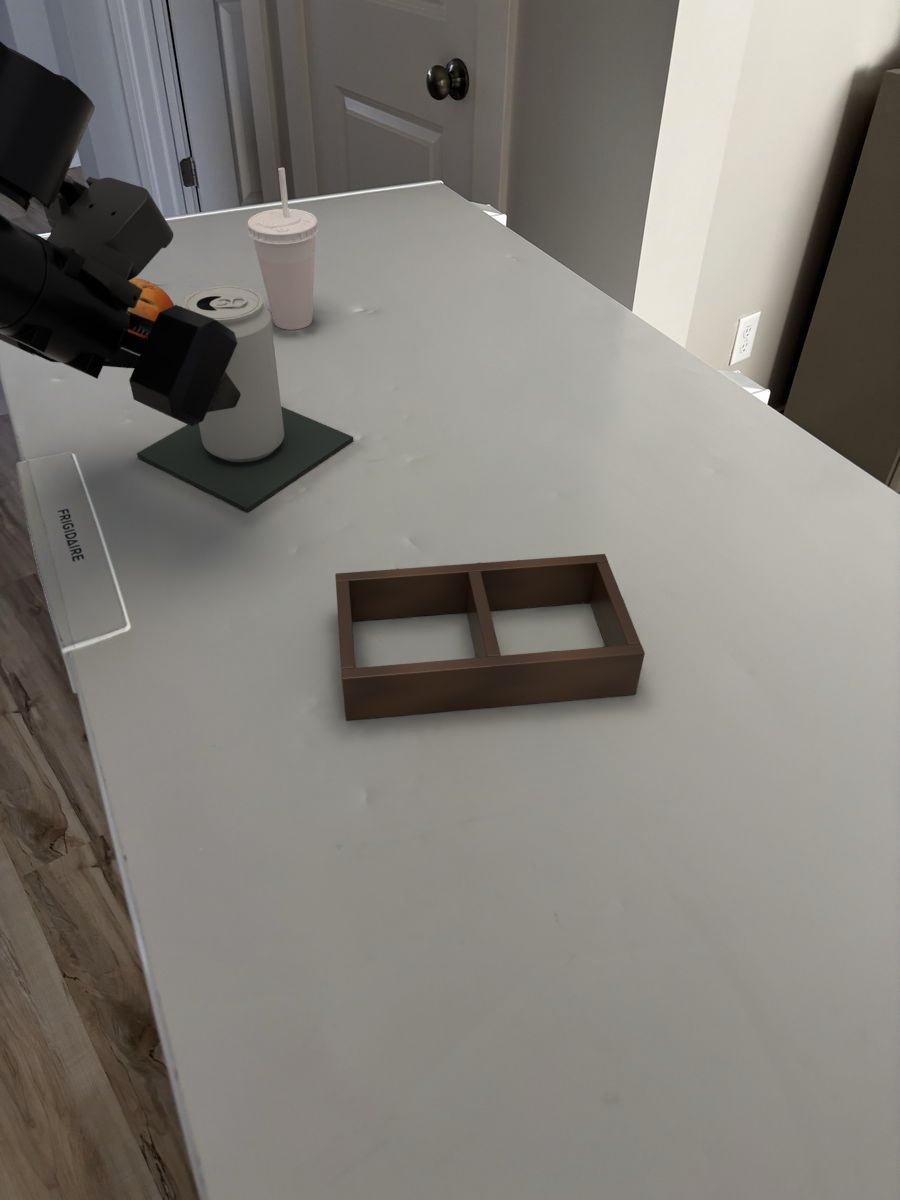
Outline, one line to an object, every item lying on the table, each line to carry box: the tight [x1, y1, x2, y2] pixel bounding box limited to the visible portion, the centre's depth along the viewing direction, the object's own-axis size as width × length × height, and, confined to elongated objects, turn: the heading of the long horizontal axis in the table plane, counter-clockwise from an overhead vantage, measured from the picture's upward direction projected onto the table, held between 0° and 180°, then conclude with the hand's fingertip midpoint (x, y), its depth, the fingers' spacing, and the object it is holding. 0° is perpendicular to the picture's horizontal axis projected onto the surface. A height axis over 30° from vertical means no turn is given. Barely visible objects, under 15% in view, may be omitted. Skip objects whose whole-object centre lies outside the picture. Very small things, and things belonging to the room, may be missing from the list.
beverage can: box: [181, 284, 284, 462], centre depth 69 cm, size 6×6×12 cm
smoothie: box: [247, 167, 320, 331], centre depth 86 cm, size 6×6×14 cm
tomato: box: [128, 277, 175, 339], centre depth 88 cm, size 8×7×7 cm
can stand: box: [334, 553, 646, 721], centre depth 56 cm, size 17×9×4 cm, turn 97°
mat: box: [136, 405, 354, 513], centre depth 74 cm, size 12×12×1 cm
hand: (189, 380), depth 66 cm, fingers open, 9 cm apart
